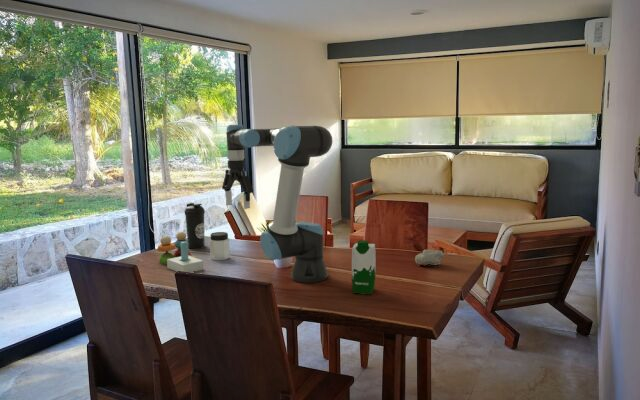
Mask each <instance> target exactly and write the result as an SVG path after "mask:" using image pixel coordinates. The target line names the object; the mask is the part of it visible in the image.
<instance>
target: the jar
mask: <svg viewBox="0 0 640 400" xmlns="http://www.w3.org/2000/svg"><path fill="white" fill-rule="evenodd" d="M209 249H210V250H209V251H210V252H209V253H210V259H211V260H213V261H225V260H227V259H229V258H230V239H229V235H228V232H225V231H217V232H212V233H211V232H210V239H209Z"/></svg>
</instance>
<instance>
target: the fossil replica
mask: <svg viewBox="0 0 640 400" xmlns="http://www.w3.org/2000/svg"><path fill="white" fill-rule="evenodd" d="M444 255H445V254H444V252H443V250H439V249H424V250H422V252H420V253H419V254H417V255H415V258H414V260H415V263H416V264H417V263H418V264H434V265H436V264H439V265H440V264H441V261H442V258H444ZM418 264H417V265H418Z"/></svg>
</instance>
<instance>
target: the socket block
mask: <svg viewBox="0 0 640 400" xmlns="http://www.w3.org/2000/svg"><path fill="white" fill-rule="evenodd" d="M188 259H189V261H184V262H182V259H181V255H180V256H176V257H175V258H171V259H167V264H166V266H167V269H169V270H172V271H174V272H177V271H187V272H191V273H195V272H198V271H203V270H205V269H204V267H205V266H204V260H203V259H200V258H197V257H195V258H194V257H191V256H188ZM194 271H195V272H194Z"/></svg>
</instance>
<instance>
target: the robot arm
mask: <svg viewBox="0 0 640 400" xmlns="http://www.w3.org/2000/svg"><path fill="white" fill-rule="evenodd" d="M225 135H226V148H227V149H226V151H227V152H226V153H227V155H226V156H227V159H228V160H227V168H228V169H226V170H225V175H224V179H223V181H222V187H221V189H222V190H224V192H225V206H227V207H228V206H232V205H233V197H232V196H233V195H232V187H233V185H234V183H235V181H236V182H238V183H239V185H240V187H241V189H242V190H243V195H242V196H243V209H244V210H247V209H251V203H250V201H251V194H252V193H254V189H253V186H252V183H251V180H250V177H249V172H248V171H247V170H245V171H244V169H245V168H246V162H245V161H246V160H244V159H245V148H247V149H248V148H254V147H255V148H257V147H273V149H274V150H273V152H274V154H275V156H276V157H277V158H278V159H277V161H278V162H279V163H280V165H281V166H280V172H279V178H278V179H279V180H278V184H277V193H276V199H275V204H274V205H275V206H274V212H273V218H272V219H273V220H271V221H270V222H269V224H268V226H267V230H264V231H263V232H262V233H261V234H260V239H259V240H260V247H261V249H262V252H263V254H264V256H265V257H266V259H268V260H271V261H277V260H283V259H288V258H292V257H294V258H295V259H294V263H293V267H292V270H291V273H290V275H291V279H292V280H293V281H295V282H297V283H307V284H308V283H309V284H310V283H311V284H312V283H319V281H320V282H323V281H326V280H327V279H328V278H327V277H328V275H329V274H328V270H327V266H326V264H325V260H324V230H323V226H322V225H321V224H320V223H316V222H307V221H297V222H296V219H297V213H298V209H299V208H298V205H299V201H300V194H301V190H302V184H303V177H304V172H305V168H307V167H309V165H310V160H311V158H318V157H321V156H324V155H326V154H328V152H329V151H330V150H331V148H332V146H333V136H332V134H331V131H329V130H328V129H327V128H325V127H323V126H320V125H289V126H284V127H281V128H246V129H245V128H244V125H243V124H228V125H226V132H225ZM326 278H327V279H326ZM325 279H326V280H325Z"/></svg>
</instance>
